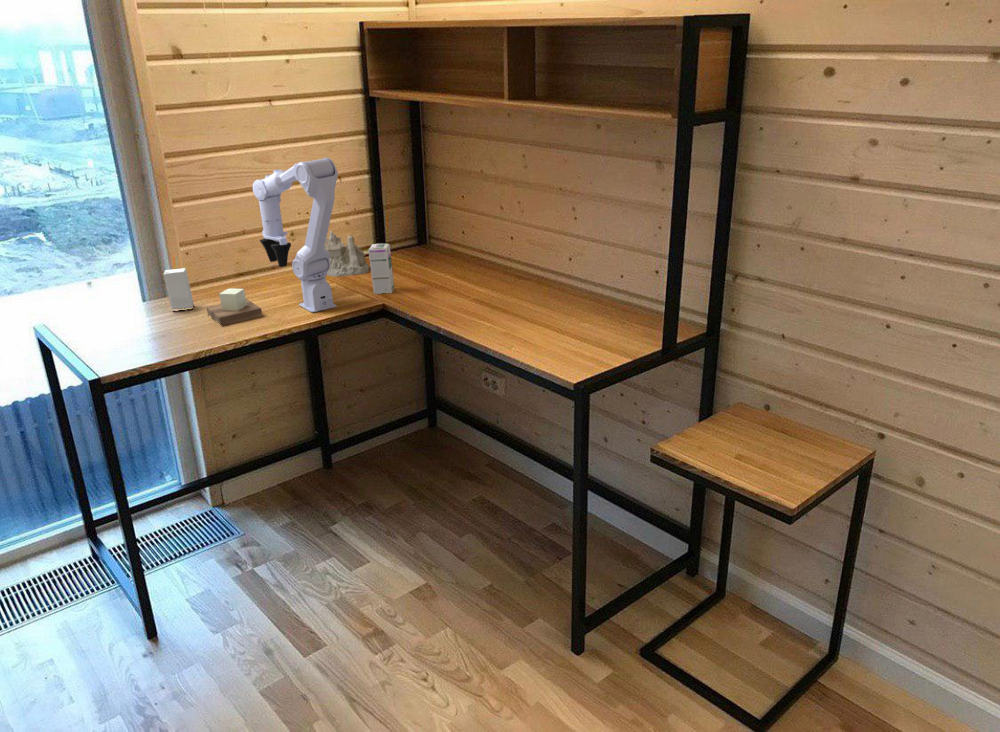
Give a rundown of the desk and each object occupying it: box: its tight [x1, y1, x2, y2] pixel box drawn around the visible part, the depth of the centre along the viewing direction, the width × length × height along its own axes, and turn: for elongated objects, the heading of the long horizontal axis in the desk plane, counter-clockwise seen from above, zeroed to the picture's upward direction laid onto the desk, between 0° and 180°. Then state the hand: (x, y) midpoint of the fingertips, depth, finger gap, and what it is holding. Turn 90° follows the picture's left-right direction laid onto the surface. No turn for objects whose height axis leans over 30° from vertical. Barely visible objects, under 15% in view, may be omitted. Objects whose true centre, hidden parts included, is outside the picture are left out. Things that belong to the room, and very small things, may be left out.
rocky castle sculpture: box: [325, 230, 370, 277], centre depth 270 cm, size 16×16×15 cm
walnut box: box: [206, 298, 263, 326], centre depth 231 cm, size 12×12×3 cm
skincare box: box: [162, 267, 195, 310], centre depth 236 cm, size 6×4×12 cm
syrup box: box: [368, 242, 395, 295], centre depth 245 cm, size 6×6×14 cm
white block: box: [219, 288, 247, 311], centre depth 229 cm, size 5×5×5 cm
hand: (278, 263), depth 243 cm, fingers open, 7 cm apart
